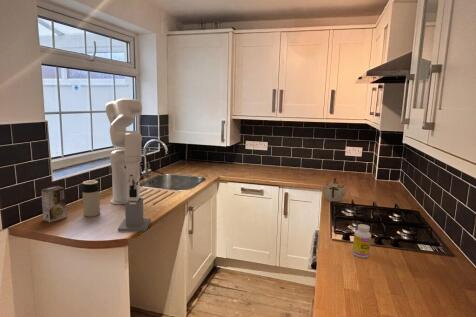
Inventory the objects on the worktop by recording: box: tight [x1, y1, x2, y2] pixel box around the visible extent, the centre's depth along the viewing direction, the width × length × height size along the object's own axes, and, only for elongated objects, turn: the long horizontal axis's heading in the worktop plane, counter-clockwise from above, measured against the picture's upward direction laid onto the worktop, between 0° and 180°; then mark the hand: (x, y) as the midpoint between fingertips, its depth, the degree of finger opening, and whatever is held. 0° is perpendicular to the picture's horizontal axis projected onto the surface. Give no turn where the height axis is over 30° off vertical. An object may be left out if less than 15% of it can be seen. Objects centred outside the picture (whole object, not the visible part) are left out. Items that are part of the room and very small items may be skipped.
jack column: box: [128, 182, 141, 202], centre depth 154 cm, size 5×5×20 cm
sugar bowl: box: [322, 177, 347, 202], centre depth 209 cm, size 20×15×15 cm
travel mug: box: [81, 179, 101, 218], centre depth 169 cm, size 8×8×18 cm
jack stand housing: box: [117, 197, 151, 233], centre depth 155 cm, size 13×13×14 cm
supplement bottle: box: [352, 223, 372, 259], centre depth 134 cm, size 7×7×13 cm
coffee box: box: [40, 185, 68, 223], centre depth 161 cm, size 9×6×16 cm
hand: (134, 195), depth 154 cm, fingers closed on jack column, 4 cm apart
